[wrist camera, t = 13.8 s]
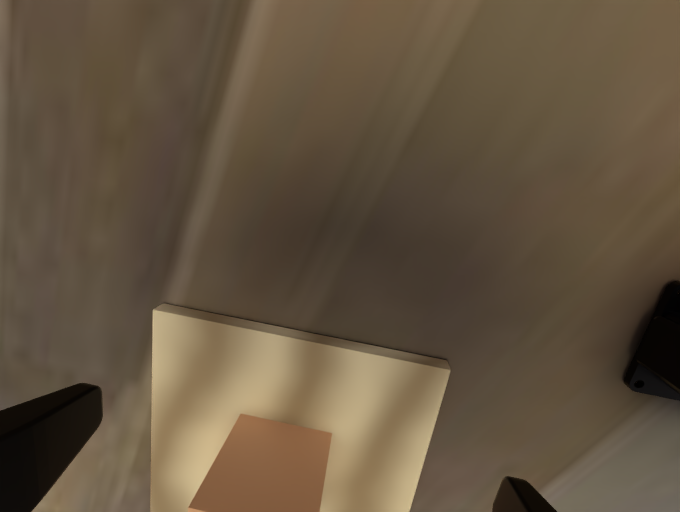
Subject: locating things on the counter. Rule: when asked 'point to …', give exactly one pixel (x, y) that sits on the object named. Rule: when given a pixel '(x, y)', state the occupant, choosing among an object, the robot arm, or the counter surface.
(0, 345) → the counter surface
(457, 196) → the counter surface
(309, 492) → the tan cardboard-like cube
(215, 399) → the post base
